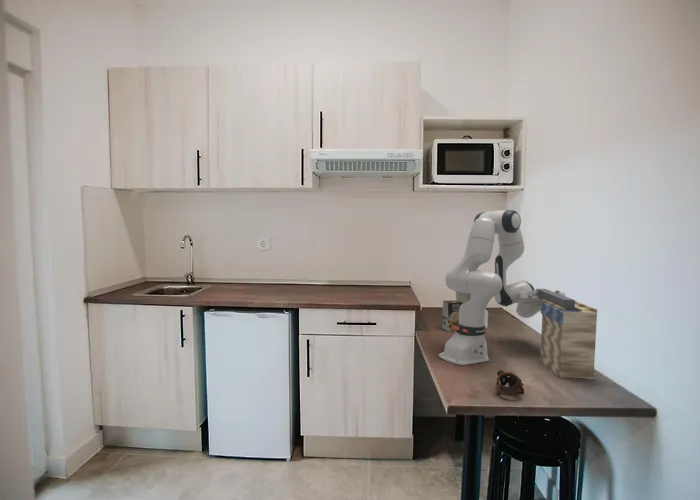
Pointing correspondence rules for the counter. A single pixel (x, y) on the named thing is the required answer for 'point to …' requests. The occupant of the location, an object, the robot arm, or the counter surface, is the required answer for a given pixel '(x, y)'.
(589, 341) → the duct stand
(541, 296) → the dark gray block
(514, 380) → the pottery mug
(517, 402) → the counter surface
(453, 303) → the coffee box
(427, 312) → the counter surface
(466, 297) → the canister
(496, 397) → the counter surface
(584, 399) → the counter surface
